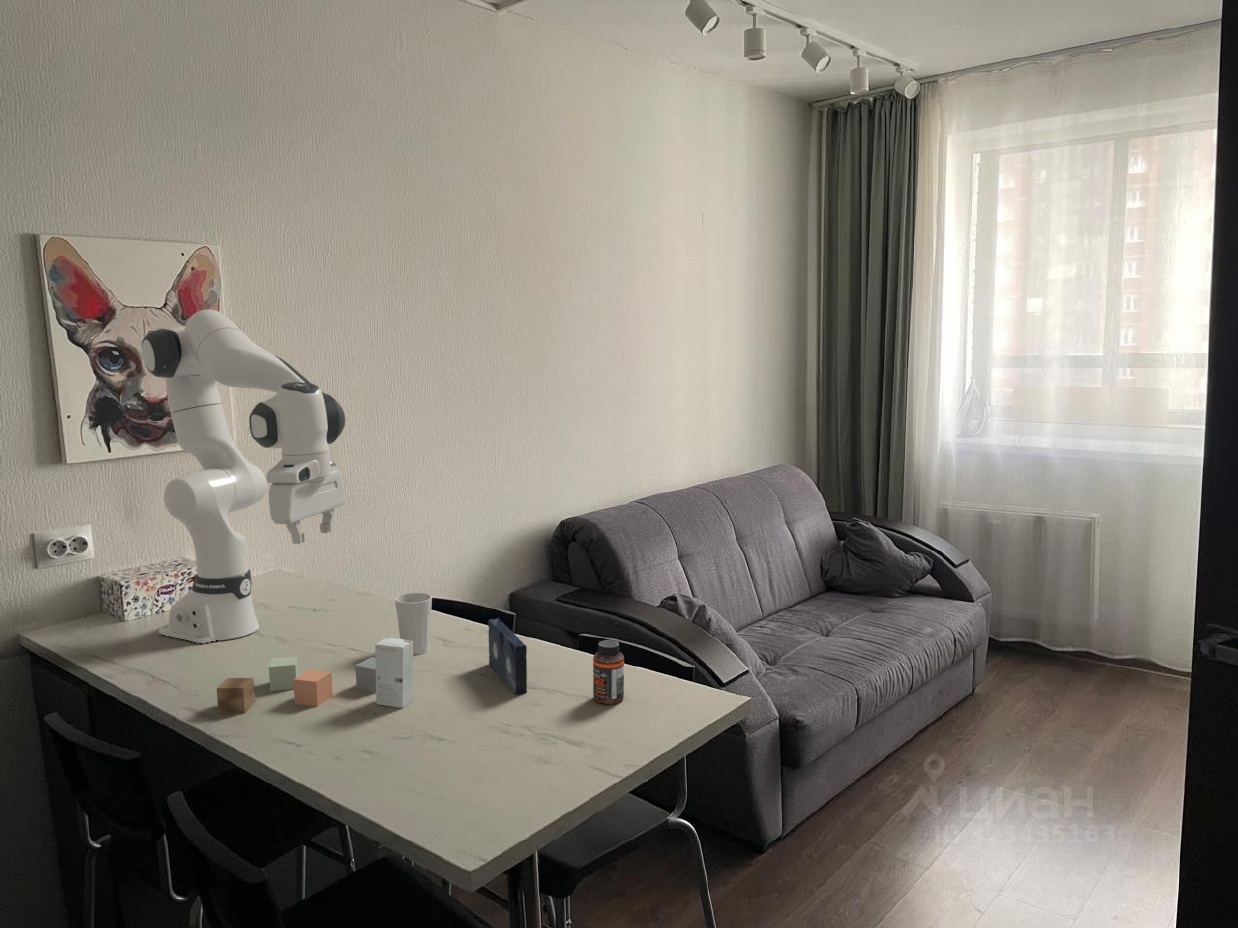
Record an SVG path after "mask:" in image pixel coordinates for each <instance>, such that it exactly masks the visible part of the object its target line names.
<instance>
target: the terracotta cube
mask: <svg viewBox="0 0 1238 928" xmlns="http://www.w3.org/2000/svg"><path fill="white" fill-rule="evenodd" d="M293 680H294V689H293V694H294V704H296V705H303V706H312V707H319V706H321V705H323V703H325V702H326V701H328V700H329V699H330V698H332V697H333V681H332V680H333V679H332V671H324V670H323V671H322V670H314V669H308V670H306V671H304V672H303V673H301V674H298V677H296V678H294V679H293Z"/></svg>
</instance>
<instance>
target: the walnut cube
mask: <svg viewBox="0 0 1238 928" xmlns="http://www.w3.org/2000/svg"><path fill="white" fill-rule="evenodd" d="M254 678H255V677H227V678H226V679H225V680H224V681H223V682H222V683H221V684H219V685H218V686H217V687H216V699H217V701H216V702H217V713H218V714H245V713H247V712H248V711H249V710H250V708H251V707H253V706H254V705H255V703H256V689H255V679H254Z"/></svg>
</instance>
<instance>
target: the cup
mask: <svg viewBox="0 0 1238 928" xmlns="http://www.w3.org/2000/svg"><path fill="white" fill-rule="evenodd" d="M432 600H433V596H432V594H429V593H428V592H427V593H426V592H408V593H407V592H406V593H402V594H400V595H399V594H398V595H397V596H396V597H395V598H394V602H395V609H396V616H397V617H396V618H397V623H398V632H399V639H403V640H409V641H413V656H416V655H417V656H419V655H423V654H426V653H428V652H429V651H430V650H431V643H430V640H431V622H432V621H431V618H432V603H433V601H432Z"/></svg>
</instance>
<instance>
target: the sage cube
mask: <svg viewBox="0 0 1238 928" xmlns="http://www.w3.org/2000/svg"><path fill="white" fill-rule="evenodd" d="M298 661H299V659H298V656H297V655H296V656H284V657H275V658H274V657H273V658H271V659H270V662H269V665H268V678H269V691H270V692H275V691H283V690H285V691H286V690H294V680H293V679H294V678H296V677H298V676H299V663H298Z"/></svg>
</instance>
